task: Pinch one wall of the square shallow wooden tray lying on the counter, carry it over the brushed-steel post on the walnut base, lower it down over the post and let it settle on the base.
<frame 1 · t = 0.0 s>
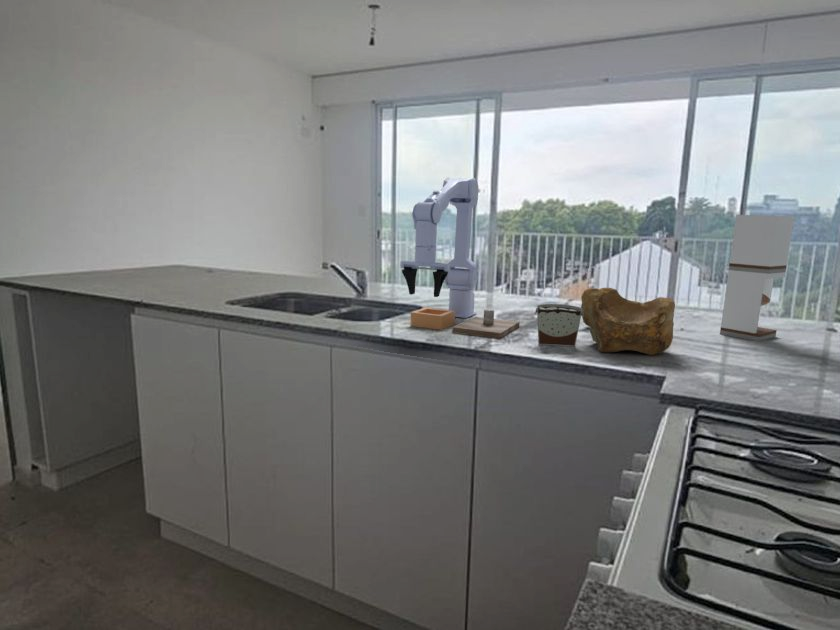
hand: (424, 295, 150), 10 cm above the worktop, fingers open, 7 cm apart
food container: (555, 343, 142), on the worktop
white stacked pedestal: (747, 336, 159), on the worktop
post base: (487, 329, 156), on the worktop
stone bowl: (619, 351, 136), on the worktop
shallow wooden tray: (432, 324, 160), on the worktop
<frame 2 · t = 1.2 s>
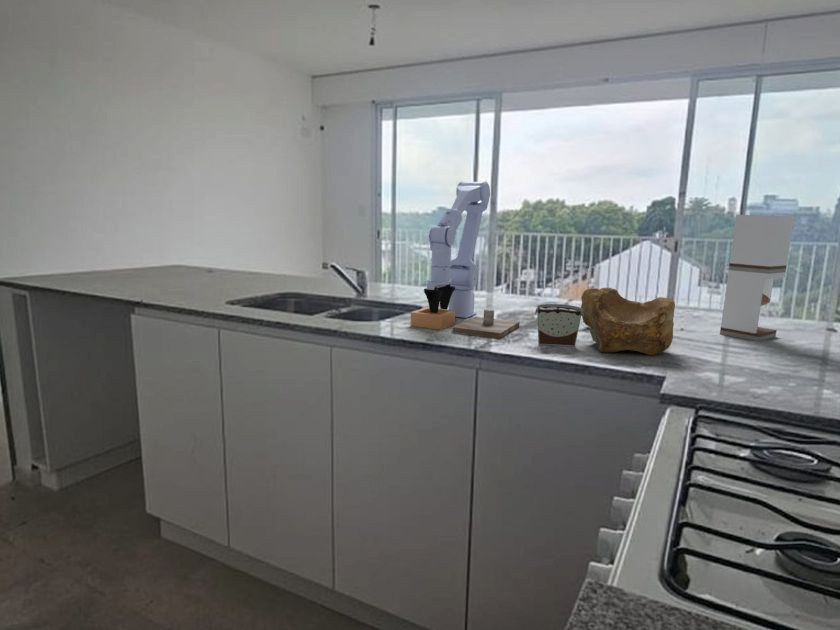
hand: (439, 310, 164), 4 cm above the worktop, fingers open, 7 cm apart
nothing on the worktop moved.
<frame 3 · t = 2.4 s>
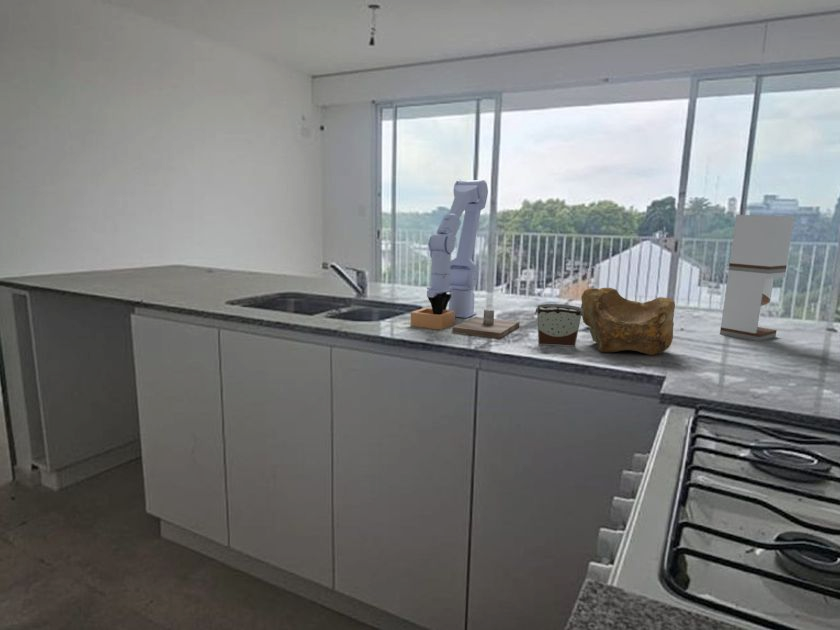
hand: (438, 317, 164), 1 cm above the worktop, fingers closed on shallow wooden tray
shallow wooden tray: (432, 324, 160), on the worktop, touching gripper
everything else where it was.
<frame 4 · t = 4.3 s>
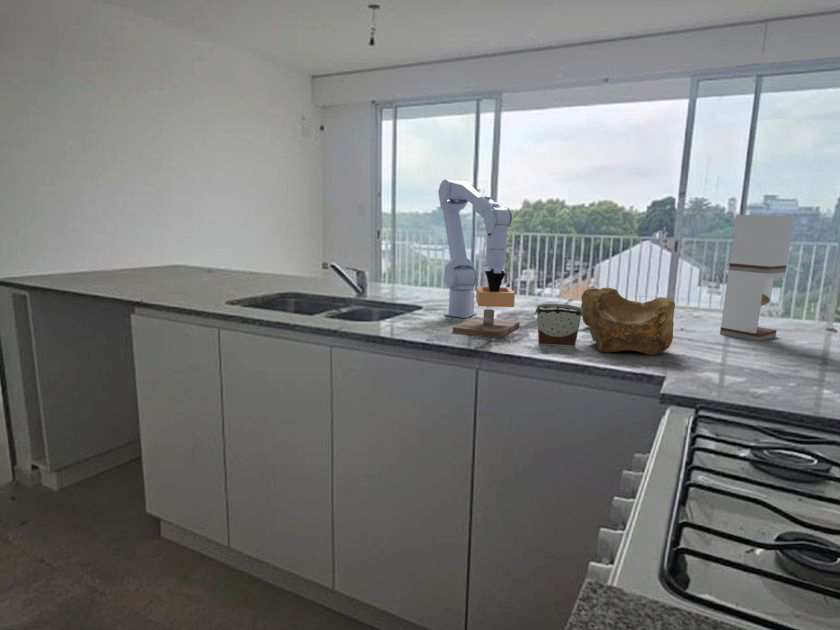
hand: (493, 295, 159), 9 cm above the worktop, fingers closed on shallow wooden tray
shallow wooden tray: (494, 303, 155), point 8 cm above the worktop, touching gripper
everything else where it was.
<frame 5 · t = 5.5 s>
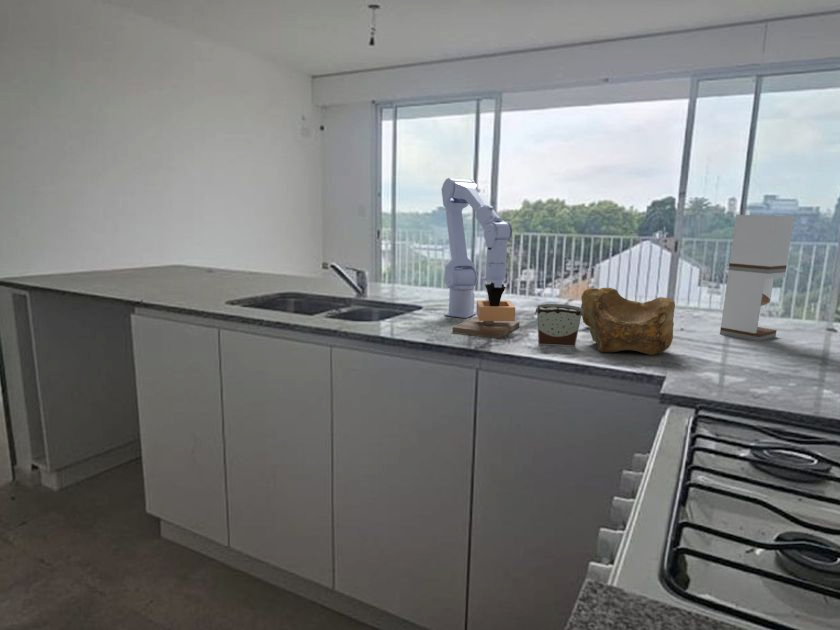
hand: (493, 308, 160), 5 cm above the worktop, fingers closed on shallow wooden tray
shallow wooden tray: (494, 317, 156), point 4 cm above the worktop, touching gripper
everything else where it was.
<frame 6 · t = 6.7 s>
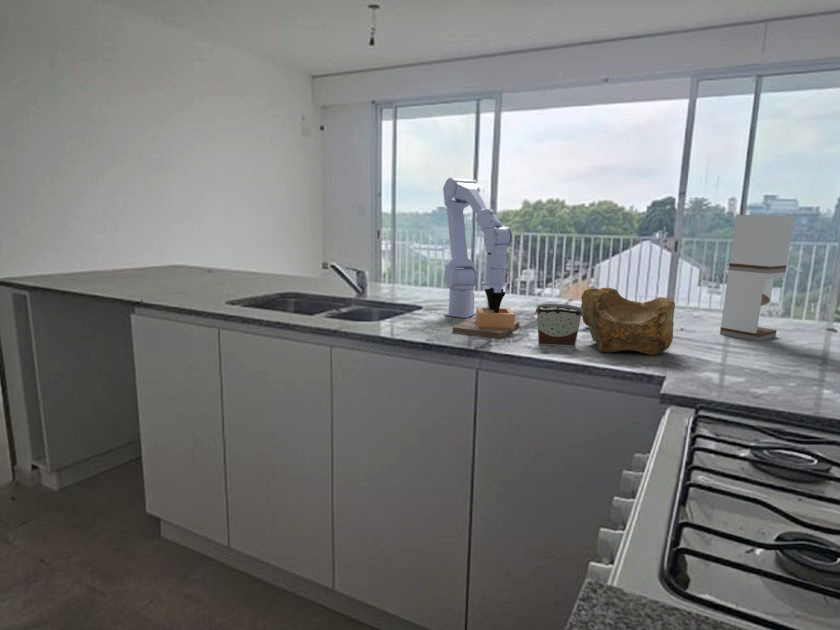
hand: (493, 313, 160), 4 cm above the worktop, fingers closed
shallow wooden tray: (494, 324, 157), point 1 cm above the worktop, touching post base
everything else where it was.
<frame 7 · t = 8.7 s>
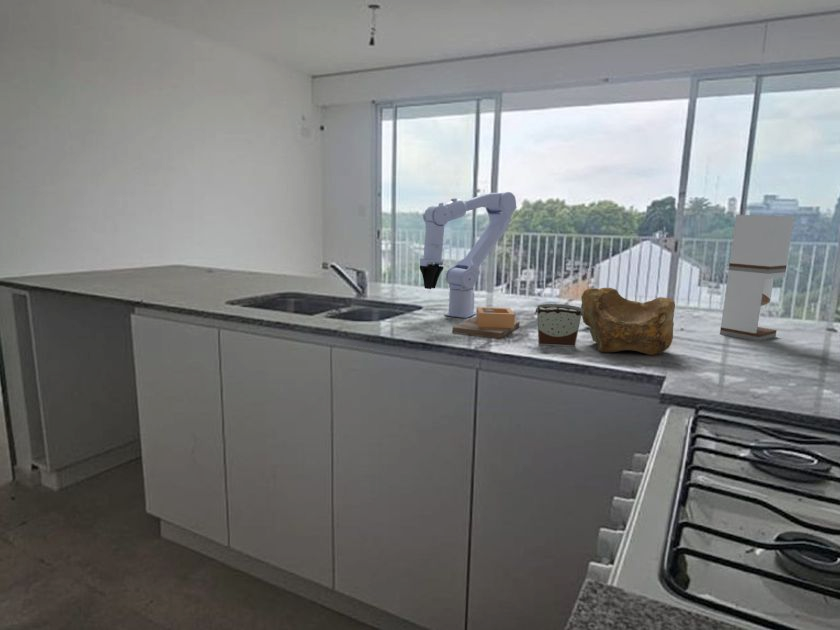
hand: (429, 288, 169), 9 cm above the worktop, fingers closed
nothing on the worktop moved.
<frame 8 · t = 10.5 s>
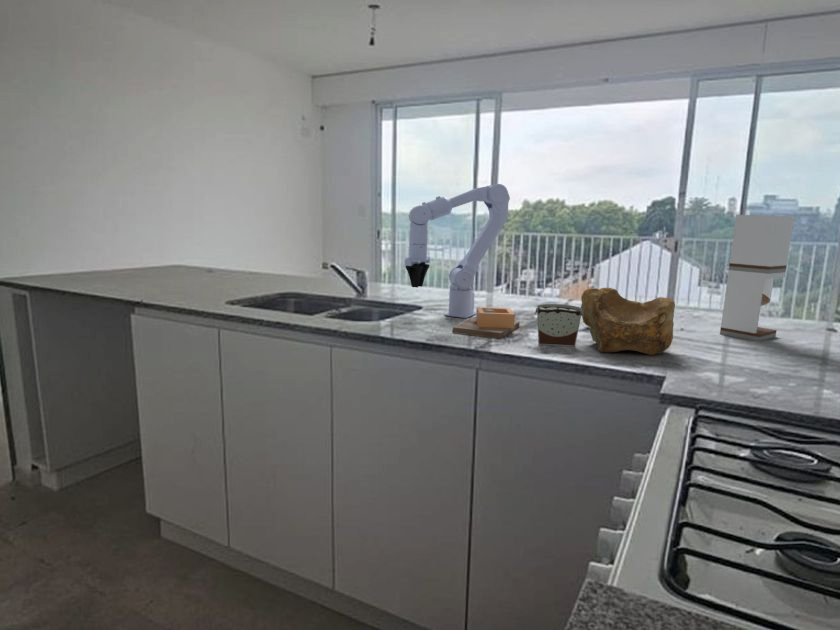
hand: (417, 286, 173), 9 cm above the worktop, fingers closed
nothing on the worktop moved.
at the end: shallow wooden tray 1.8 cm from the target spot on the post base, point 1.5 cm above the post base's base; shallow wooden tray tilted 0°; the gripper is holding nothing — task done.
